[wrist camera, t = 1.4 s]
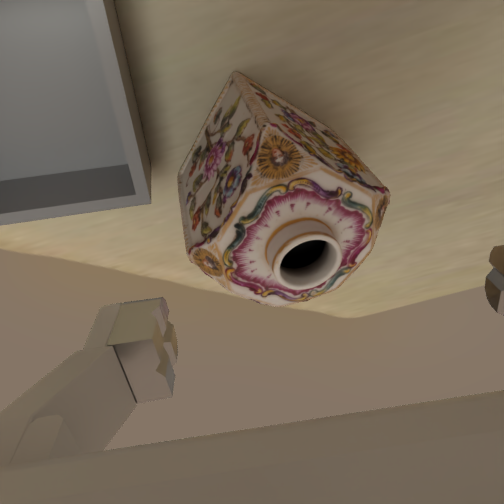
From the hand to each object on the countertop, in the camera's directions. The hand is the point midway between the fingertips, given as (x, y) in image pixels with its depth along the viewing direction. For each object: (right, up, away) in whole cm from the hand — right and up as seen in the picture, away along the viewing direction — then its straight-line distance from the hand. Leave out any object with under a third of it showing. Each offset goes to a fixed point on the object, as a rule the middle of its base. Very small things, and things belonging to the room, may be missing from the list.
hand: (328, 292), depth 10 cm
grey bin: (-20, +14, +23) cm, 33 cm away
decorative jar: (-2, +11, +30) cm, 32 cm away
